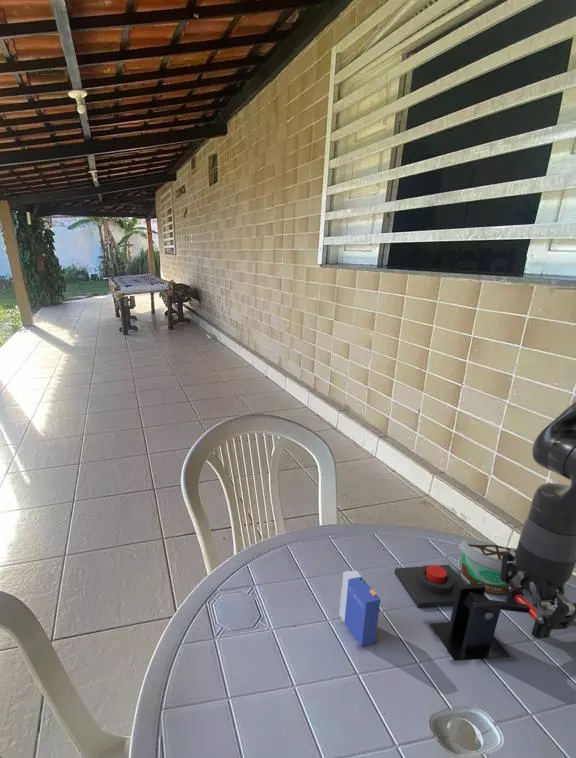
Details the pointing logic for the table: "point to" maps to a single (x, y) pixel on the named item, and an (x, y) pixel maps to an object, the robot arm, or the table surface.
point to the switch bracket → (471, 628)
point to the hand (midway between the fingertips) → (525, 621)
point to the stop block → (429, 586)
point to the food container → (484, 566)
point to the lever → (503, 603)
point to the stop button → (436, 574)
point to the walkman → (359, 608)
